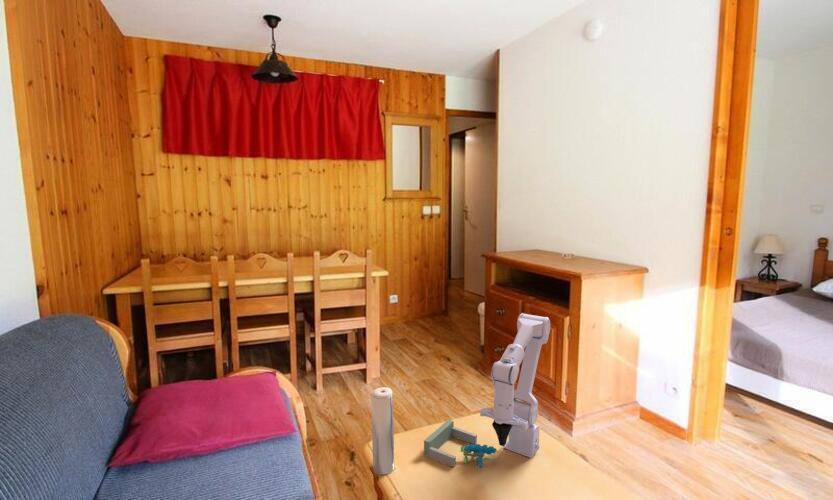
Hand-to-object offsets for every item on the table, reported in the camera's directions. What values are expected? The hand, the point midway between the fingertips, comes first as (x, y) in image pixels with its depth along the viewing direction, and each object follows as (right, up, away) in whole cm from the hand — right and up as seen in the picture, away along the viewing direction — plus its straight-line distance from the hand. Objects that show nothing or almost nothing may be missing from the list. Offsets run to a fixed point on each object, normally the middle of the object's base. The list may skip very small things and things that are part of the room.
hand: (502, 444), depth 127 cm
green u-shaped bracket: (-14, -7, +11) cm, 19 cm away
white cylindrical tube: (-36, -8, +2) cm, 37 cm away
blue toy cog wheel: (-7, -8, +5) cm, 12 cm away
